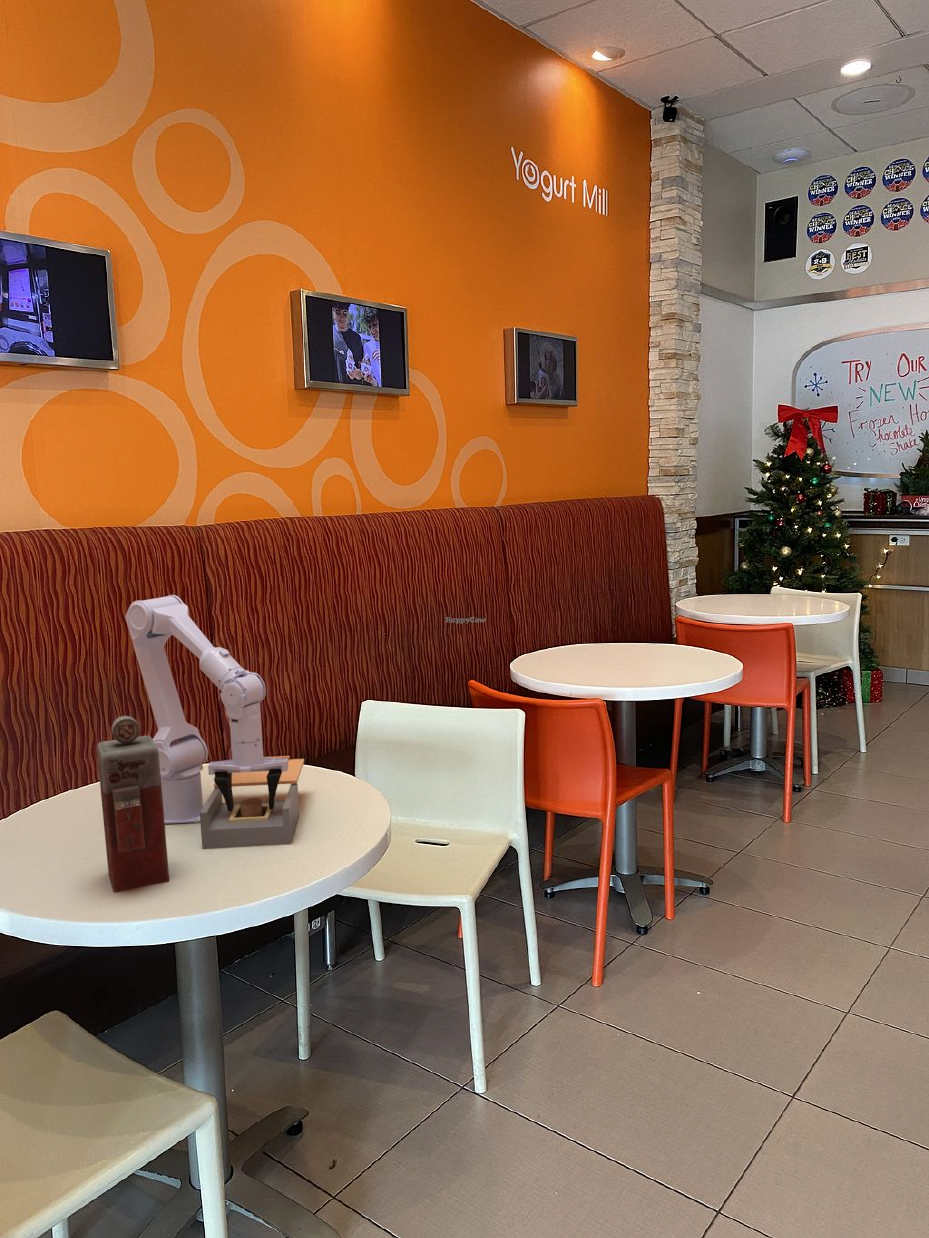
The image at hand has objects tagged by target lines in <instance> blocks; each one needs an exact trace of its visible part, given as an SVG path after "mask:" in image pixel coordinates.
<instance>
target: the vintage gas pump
mask: <svg viewBox="0 0 929 1238" xmlns="http://www.w3.org/2000/svg"><path fill="white" fill-rule="evenodd" d="M140 729H141V728H140V726H139V724H138V722H137V720H136V719H135V718H134V717H132V716H130V715H122V716H119V717H117V718H116V719H114V721H113V722H112V725H111V733H112V736H113V738H114V739H112V740H106V741H100V742H98V743H97V745H96V754H97V765H98V776H99V785H100V798H101V807H102V820H103V829H104V839H105V840H104V841H105V851H106V862H107V873H108V877H109V881H110V885H111V889H112V892H113V893H119V892H123V891H125V892H126V891H128V890H129V891H130V890H134V889H139V888H145V887H148V886H154V885H157V884H162V883H167V882H170V870H169V859H168V847H167V835H166V834H167V833H166V824H165V822H164V810H163V798H162V786H161V774H160V762H159V752H158V749H157V747H156V745H155V744H154V742H153V740H152V739H153V738H152V737H151V736H150V735H141V736H139V734H140Z"/></svg>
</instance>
